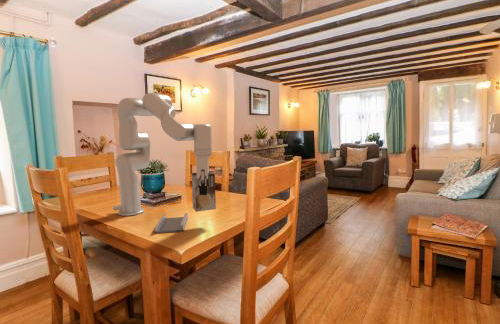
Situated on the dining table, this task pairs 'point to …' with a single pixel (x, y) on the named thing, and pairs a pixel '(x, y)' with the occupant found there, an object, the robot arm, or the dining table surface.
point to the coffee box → (203, 200)
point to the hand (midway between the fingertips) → (203, 192)
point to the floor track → (171, 224)
